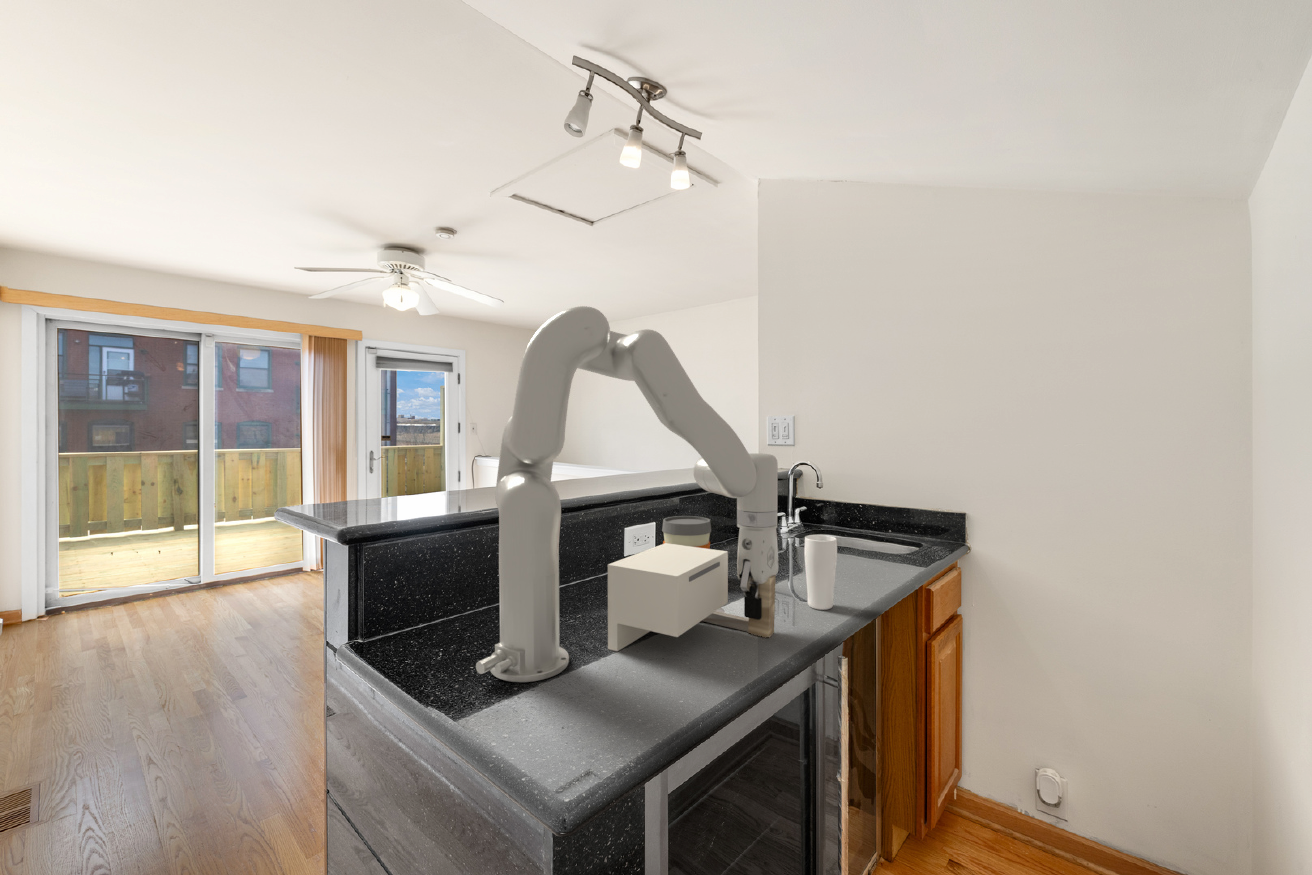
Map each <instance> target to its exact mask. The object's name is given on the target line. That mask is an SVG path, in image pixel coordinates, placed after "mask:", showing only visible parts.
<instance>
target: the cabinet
mask: <svg viewBox="0 0 1312 875" xmlns="http://www.w3.org/2000/svg"><path fill="white" fill-rule="evenodd" d="M728 576H729V551H727V550H719V549H713V548H712V549H711V548H710V549H706V548H698V547H691V546H683V545H676V544H668V543H664V544H663V543H662V544H660V545H657V546H653V547H652V548H648V549H645V550H643V551H641V552H637V553H635V554H632V555H630V556H627V557H625V558H622V559H618V560H616V561H614V562H611V563H608V564H607V649H608V650H609V651H614V652H619V651H620V650H622V649H624V648H625V647H627V646H629V645H630V644H632V643H633V642H635V641H637V640H638V639H640V638H642V637H643V636H645V635H646V634H648V633H650V632H653V633H657V634H662V635H666V636H671V637H674V638H679V637H680V636H681V635H683V634H684V633H686V632H687V631H689V630H690V629H692V628H693V627H694V626H696V625H698V624H699V623H700V622H703V621H702V620H703V619H705V618H706V617H708V616H709V615H710V614H712V613H713V612H715V611H716V610H718V609H719V608H722V607H724V606H725V605H727V604H728V602H729V599H728V598H729V596H728V594H729V592H728V590H729V589H728V588H729V586H728V585H729V582H728V581H729V580H728V579H729V577H728Z"/></svg>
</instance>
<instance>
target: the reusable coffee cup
mask: <svg viewBox="0 0 1312 875" xmlns="http://www.w3.org/2000/svg"><path fill="white" fill-rule="evenodd" d="M661 531H662V532H663V539H664V540H663V541H662V544H664V543H668V544H676V545H683V546H691V547H698V548H706V549H711V548H710V547H711V541H710V535H711V533H712V526H711V519H709V518H708V517H703V516H696V515H695V516H693V515H676V516H668V517H665V518H663V520H662V528H661Z"/></svg>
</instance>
